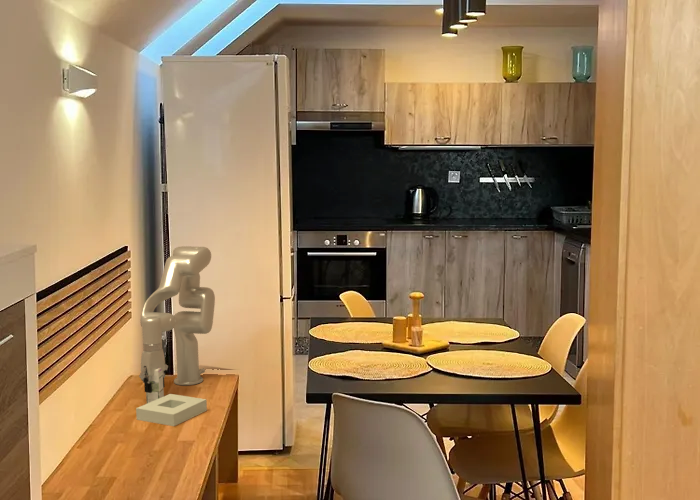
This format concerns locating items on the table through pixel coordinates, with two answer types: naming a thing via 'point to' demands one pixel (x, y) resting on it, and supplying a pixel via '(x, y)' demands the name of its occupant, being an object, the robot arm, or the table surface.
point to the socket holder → (171, 409)
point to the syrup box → (156, 386)
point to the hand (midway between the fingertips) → (154, 389)
